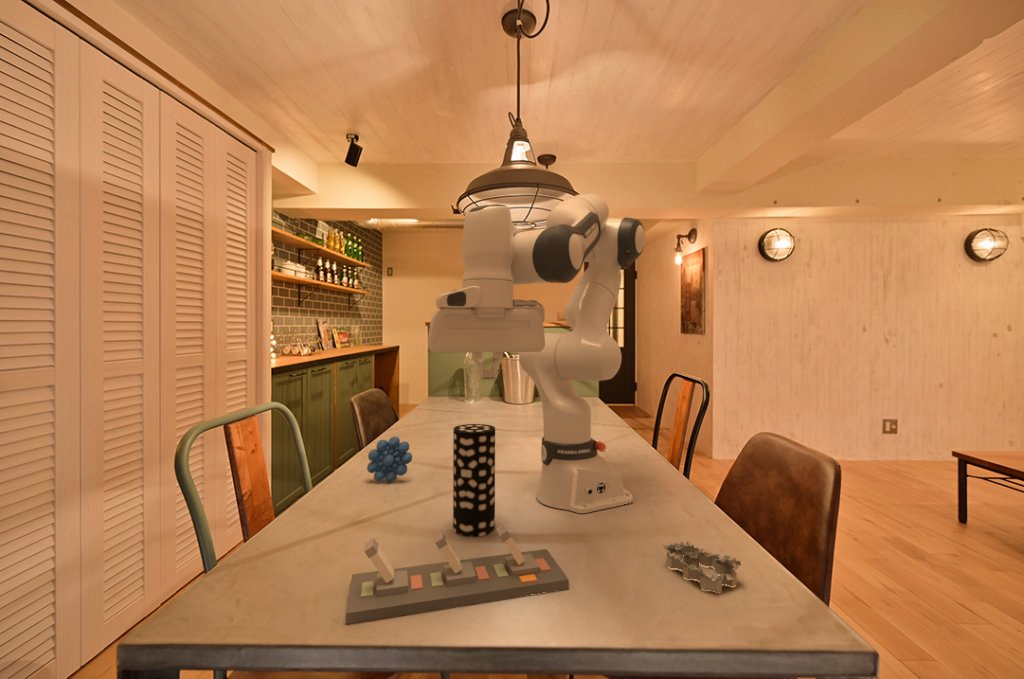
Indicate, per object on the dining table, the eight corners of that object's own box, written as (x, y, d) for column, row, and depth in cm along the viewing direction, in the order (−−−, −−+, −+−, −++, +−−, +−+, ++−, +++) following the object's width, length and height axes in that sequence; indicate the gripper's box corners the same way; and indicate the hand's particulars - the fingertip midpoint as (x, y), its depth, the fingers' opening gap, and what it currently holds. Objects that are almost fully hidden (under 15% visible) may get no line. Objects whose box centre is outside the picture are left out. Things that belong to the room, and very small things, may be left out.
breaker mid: (460, 560, 70) (441, 530, 70) (462, 568, 68) (443, 537, 67) (452, 565, 70) (433, 535, 69) (454, 574, 68) (435, 543, 67)
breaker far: (394, 569, 68) (373, 537, 67) (394, 578, 65) (373, 545, 64) (385, 574, 68) (365, 543, 67) (385, 584, 65) (364, 551, 64)
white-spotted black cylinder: (462, 540, 84) (462, 434, 84) (447, 523, 92) (447, 426, 91) (501, 531, 88) (502, 430, 88) (484, 516, 96) (484, 422, 95)
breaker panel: (546, 557, 78) (546, 543, 78) (568, 589, 69) (568, 573, 69) (352, 583, 70) (352, 567, 70) (346, 624, 60) (346, 605, 60)
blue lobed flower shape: (415, 476, 121) (415, 432, 121) (410, 485, 114) (410, 438, 114) (371, 477, 121) (371, 432, 121) (364, 485, 114) (364, 438, 114)
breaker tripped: (521, 552, 73) (502, 523, 72) (525, 560, 71) (507, 530, 70) (514, 557, 73) (495, 529, 72) (518, 565, 70) (499, 536, 69)
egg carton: (744, 588, 70) (745, 562, 70) (708, 599, 67) (709, 572, 67) (691, 556, 79) (692, 533, 79) (658, 564, 76) (658, 540, 76)
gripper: (538, 301, 83) (538, 375, 84) (427, 298, 78) (427, 378, 78) (550, 299, 77) (550, 379, 78) (430, 296, 72) (430, 382, 72)
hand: (487, 378), depth 78 cm, fingers closed
